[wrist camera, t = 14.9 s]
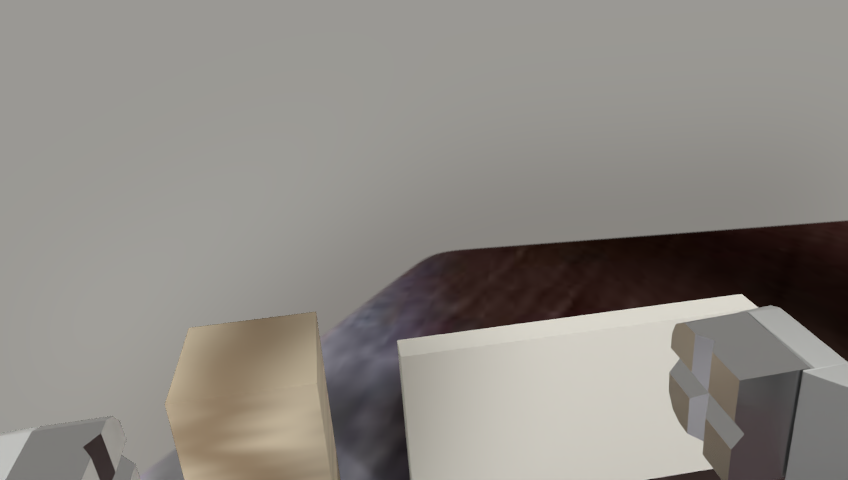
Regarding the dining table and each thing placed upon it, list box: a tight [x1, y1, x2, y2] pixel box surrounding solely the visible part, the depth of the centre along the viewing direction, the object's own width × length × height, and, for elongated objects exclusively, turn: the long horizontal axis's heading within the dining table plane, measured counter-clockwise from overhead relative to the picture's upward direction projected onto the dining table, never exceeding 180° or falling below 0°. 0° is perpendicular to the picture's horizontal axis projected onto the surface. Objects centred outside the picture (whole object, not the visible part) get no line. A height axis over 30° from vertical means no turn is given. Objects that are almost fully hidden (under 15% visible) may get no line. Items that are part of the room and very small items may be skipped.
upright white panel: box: [397, 294, 758, 480], centre depth 37 cm, size 18×2×10 cm, turn 99°
